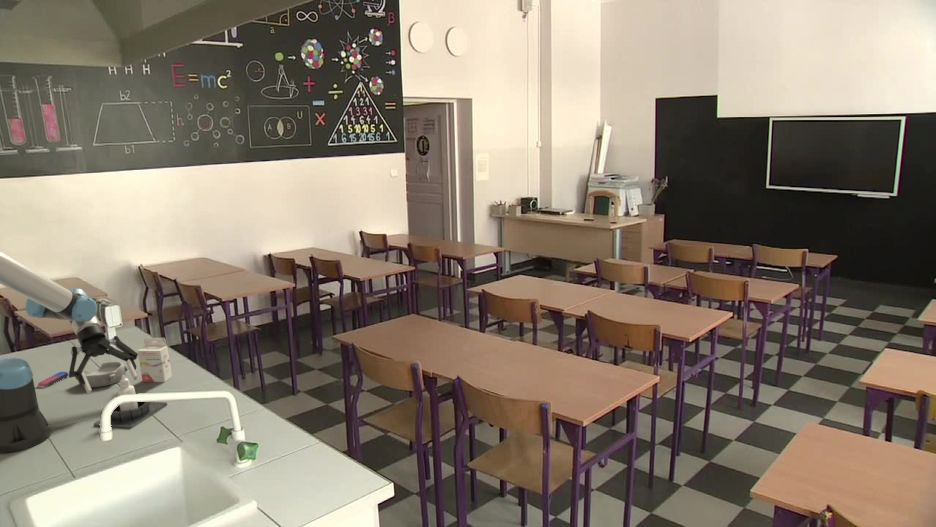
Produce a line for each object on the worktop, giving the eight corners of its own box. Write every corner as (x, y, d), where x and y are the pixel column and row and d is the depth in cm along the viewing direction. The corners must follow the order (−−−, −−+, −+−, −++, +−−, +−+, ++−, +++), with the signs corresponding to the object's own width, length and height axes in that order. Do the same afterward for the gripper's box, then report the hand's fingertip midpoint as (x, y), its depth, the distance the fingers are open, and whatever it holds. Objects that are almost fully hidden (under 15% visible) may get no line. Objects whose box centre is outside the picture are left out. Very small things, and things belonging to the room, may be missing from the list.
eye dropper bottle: (117, 414, 200) (110, 377, 198) (135, 407, 205) (128, 371, 202) (124, 417, 198) (117, 380, 195) (142, 410, 202) (135, 373, 200)
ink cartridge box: (141, 382, 228) (134, 342, 224) (149, 377, 232) (143, 337, 229) (165, 382, 227) (158, 341, 224) (172, 376, 232) (166, 337, 228)
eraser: (45, 389, 227) (44, 384, 226) (35, 389, 228) (34, 384, 227) (70, 376, 238) (69, 371, 237) (61, 375, 238) (60, 371, 238)
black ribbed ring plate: (131, 428, 192) (130, 417, 192) (94, 425, 195) (92, 415, 194) (167, 404, 208) (165, 395, 207) (131, 403, 210) (130, 393, 210)
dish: (71, 388, 226) (69, 374, 225) (102, 373, 239) (100, 360, 238) (107, 390, 223) (104, 376, 222) (136, 374, 236) (134, 361, 235)
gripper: (127, 327, 225) (151, 378, 218) (44, 347, 207) (68, 404, 200) (130, 315, 220) (155, 367, 213) (46, 335, 202) (70, 392, 196)
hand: (113, 385), depth 207 cm, fingers open, 13 cm apart
